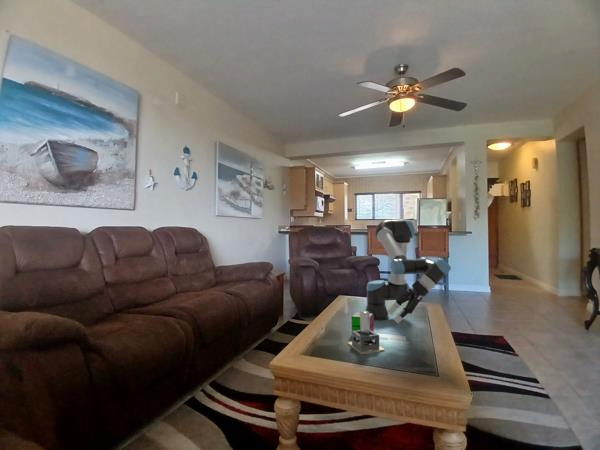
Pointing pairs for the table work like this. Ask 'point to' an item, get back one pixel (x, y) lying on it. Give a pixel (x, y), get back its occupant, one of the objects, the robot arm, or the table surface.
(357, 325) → the puzzle cube
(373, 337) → the collar stand
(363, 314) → the tube
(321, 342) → the table surface
